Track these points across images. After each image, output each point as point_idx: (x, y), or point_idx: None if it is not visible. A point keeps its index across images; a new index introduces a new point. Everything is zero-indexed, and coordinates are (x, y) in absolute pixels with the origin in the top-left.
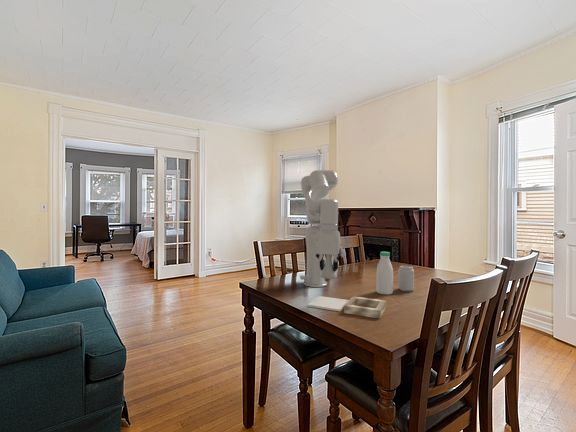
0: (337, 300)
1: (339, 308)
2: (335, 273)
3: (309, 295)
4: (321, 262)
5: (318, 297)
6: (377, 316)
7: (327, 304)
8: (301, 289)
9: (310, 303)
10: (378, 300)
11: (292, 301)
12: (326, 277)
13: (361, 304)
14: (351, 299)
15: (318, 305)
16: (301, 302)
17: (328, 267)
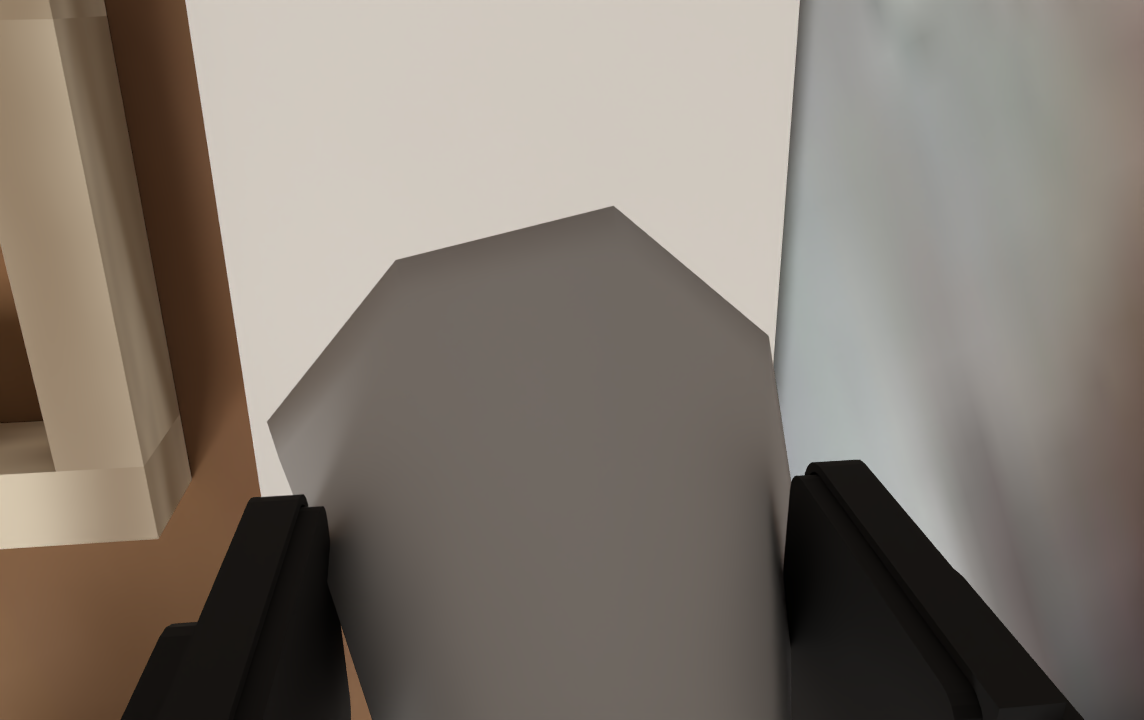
0: None
1: (210, 23)
2: None
3: (920, 509)
4: (965, 645)
5: None
6: None
7: (486, 141)
8: (1101, 697)
9: (773, 52)
10: None
11: (1099, 108)
12: (531, 241)
13: (1, 431)
14: (88, 354)
15: (609, 11)
16: (946, 130)
17: (522, 509)
